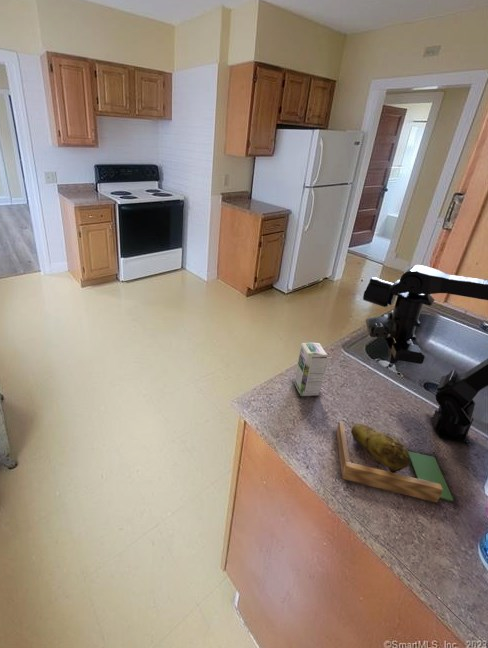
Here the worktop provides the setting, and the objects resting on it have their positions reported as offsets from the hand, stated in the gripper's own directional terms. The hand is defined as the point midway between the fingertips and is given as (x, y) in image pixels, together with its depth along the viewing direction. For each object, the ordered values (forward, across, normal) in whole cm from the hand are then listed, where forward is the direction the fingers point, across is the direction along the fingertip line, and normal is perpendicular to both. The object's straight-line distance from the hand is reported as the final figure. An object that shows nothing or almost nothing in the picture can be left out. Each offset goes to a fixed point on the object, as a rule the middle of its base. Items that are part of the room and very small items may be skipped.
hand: (391, 362), depth 88 cm
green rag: (+12, +23, +5) cm, 26 cm away
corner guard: (+12, +23, -5) cm, 27 cm away
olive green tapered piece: (+12, +21, -6) cm, 25 cm away
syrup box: (+12, +3, -21) cm, 24 cm away
